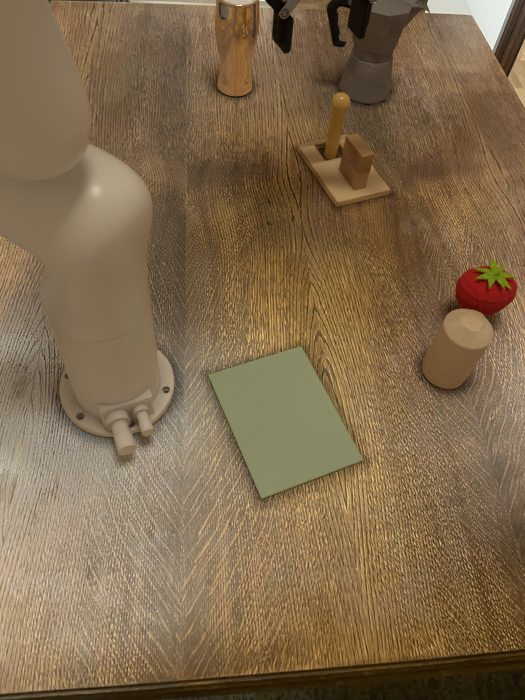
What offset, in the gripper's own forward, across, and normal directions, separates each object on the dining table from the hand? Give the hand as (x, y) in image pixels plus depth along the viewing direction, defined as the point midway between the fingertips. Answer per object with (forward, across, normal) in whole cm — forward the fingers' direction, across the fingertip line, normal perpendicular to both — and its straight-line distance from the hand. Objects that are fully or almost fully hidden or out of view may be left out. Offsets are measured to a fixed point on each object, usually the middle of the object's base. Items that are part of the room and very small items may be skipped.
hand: (319, 40), depth 71 cm
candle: (+23, +3, -35) cm, 42 cm away
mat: (+22, -18, -34) cm, 44 cm away
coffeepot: (+24, +22, +21) cm, 39 cm away
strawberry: (+23, +11, -29) cm, 39 cm away
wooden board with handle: (+23, +9, +2) cm, 25 cm away
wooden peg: (+23, +9, +6) cm, 26 cm away
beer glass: (+23, +1, +28) cm, 36 cm away
